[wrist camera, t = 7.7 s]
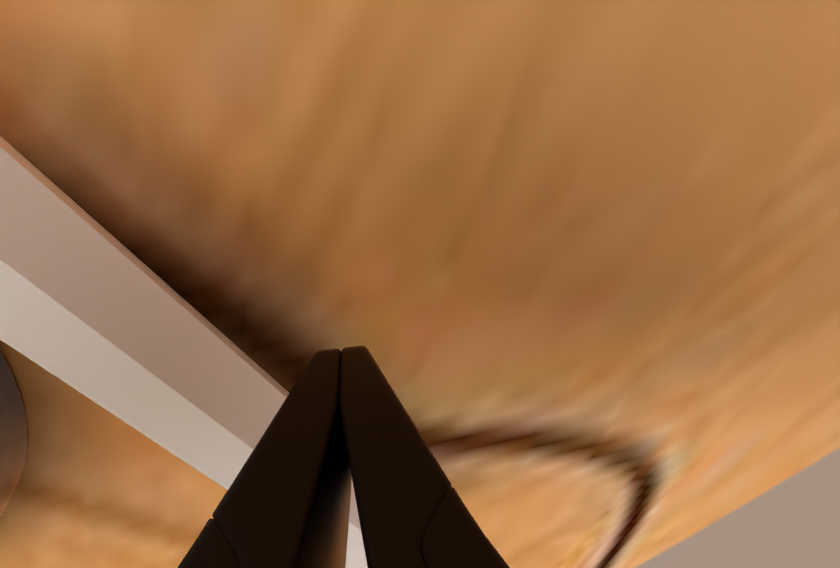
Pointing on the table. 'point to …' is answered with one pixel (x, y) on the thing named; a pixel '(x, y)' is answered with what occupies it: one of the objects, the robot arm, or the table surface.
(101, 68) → the table surface
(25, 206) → the beige long bar
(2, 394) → the plate
